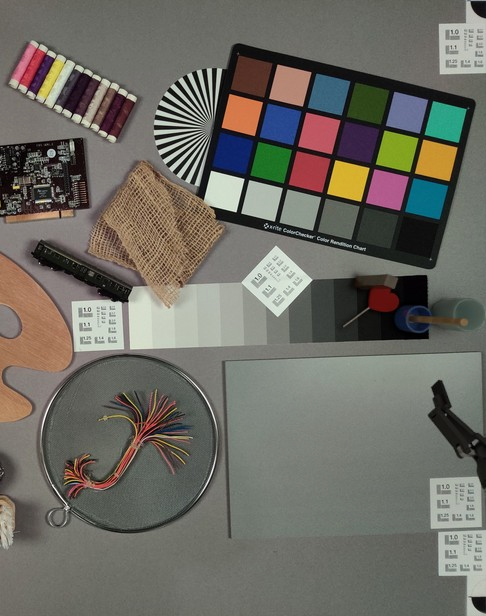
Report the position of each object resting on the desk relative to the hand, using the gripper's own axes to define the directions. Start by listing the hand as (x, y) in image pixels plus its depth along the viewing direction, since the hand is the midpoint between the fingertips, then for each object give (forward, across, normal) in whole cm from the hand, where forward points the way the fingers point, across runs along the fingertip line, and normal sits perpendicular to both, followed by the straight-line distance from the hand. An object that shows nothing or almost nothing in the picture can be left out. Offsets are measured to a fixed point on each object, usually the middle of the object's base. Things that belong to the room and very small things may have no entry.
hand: (468, 390), depth 119 cm
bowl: (+28, -1, -8) cm, 29 cm away
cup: (+30, +7, -6) cm, 31 cm away
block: (+32, -15, -4) cm, 35 cm away
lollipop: (+28, -11, -8) cm, 31 cm away
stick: (+27, -1, -8) cm, 28 cm away
